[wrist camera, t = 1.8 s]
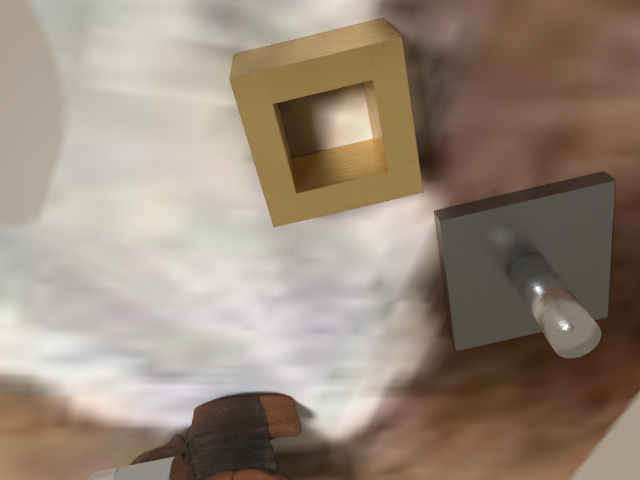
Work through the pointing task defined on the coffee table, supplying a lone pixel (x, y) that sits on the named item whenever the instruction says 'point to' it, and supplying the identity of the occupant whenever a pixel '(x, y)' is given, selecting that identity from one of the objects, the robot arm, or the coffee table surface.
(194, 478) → the pottery mug
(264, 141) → the wooden square frame
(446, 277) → the post
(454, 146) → the coffee table surface
